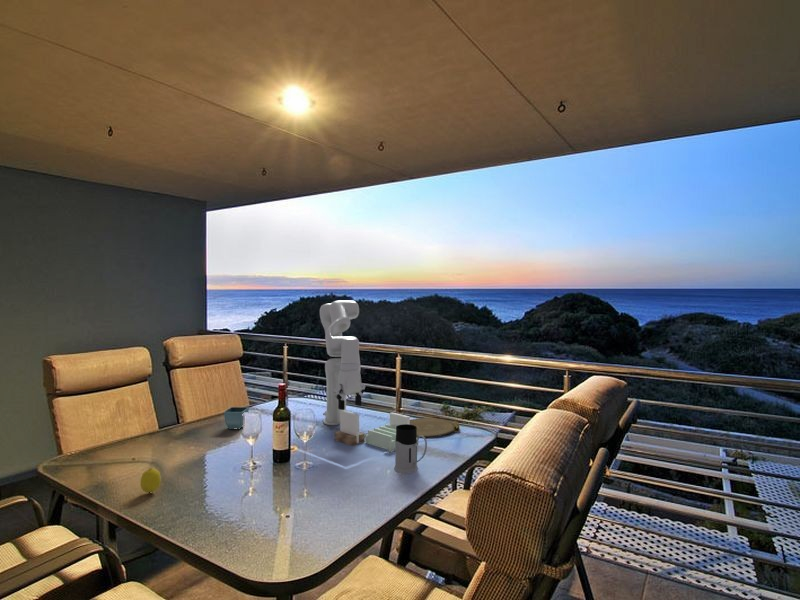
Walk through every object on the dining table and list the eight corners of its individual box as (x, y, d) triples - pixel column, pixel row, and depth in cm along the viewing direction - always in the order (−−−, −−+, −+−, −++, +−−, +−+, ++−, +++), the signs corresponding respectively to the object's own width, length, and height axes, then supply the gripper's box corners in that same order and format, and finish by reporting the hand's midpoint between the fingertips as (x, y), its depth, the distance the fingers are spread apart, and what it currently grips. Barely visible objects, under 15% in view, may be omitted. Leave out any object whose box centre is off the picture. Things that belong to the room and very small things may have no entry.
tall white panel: (340, 438, 187) (340, 410, 187) (343, 437, 188) (343, 409, 188) (356, 443, 180) (356, 414, 180) (359, 442, 182) (359, 414, 182)
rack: (365, 444, 182) (365, 418, 182) (392, 434, 195) (392, 410, 194) (389, 452, 173) (390, 424, 173) (416, 441, 186) (416, 416, 185)
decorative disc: (396, 416, 219) (455, 414, 219) (397, 422, 219) (456, 420, 219) (394, 434, 191) (462, 431, 190) (395, 441, 191) (463, 439, 190)
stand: (333, 441, 185) (333, 432, 185) (346, 437, 191) (346, 428, 191) (352, 447, 178) (352, 438, 178) (365, 443, 183) (365, 433, 183)
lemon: (146, 499, 132) (146, 472, 132) (136, 494, 135) (137, 469, 134) (164, 492, 136) (164, 466, 136) (154, 488, 139) (154, 463, 139)
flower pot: (242, 431, 198) (242, 411, 198) (223, 431, 199) (223, 411, 198) (249, 425, 207) (249, 407, 207) (230, 425, 207) (231, 406, 207)
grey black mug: (406, 462, 163) (406, 422, 162) (434, 473, 152) (434, 430, 152) (389, 468, 156) (389, 427, 156) (417, 480, 146) (417, 436, 146)
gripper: (358, 364, 193) (358, 402, 193) (328, 368, 180) (328, 409, 180) (370, 365, 188) (370, 405, 188) (340, 370, 175) (340, 412, 175)
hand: (350, 407), depth 184 cm, fingers open, 9 cm apart
